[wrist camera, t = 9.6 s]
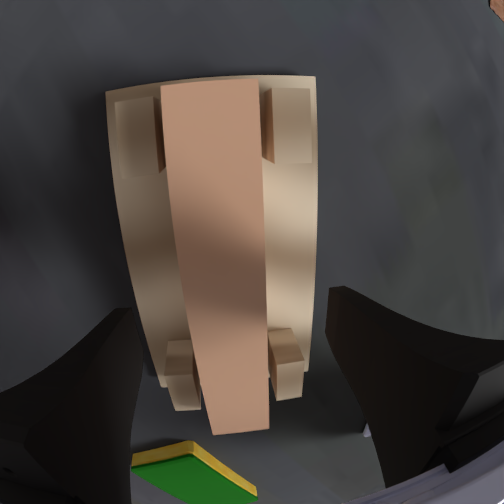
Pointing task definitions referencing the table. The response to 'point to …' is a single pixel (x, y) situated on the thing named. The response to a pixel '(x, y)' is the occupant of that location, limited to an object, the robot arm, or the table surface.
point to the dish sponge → (192, 475)
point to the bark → (498, 7)
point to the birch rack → (275, 226)
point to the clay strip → (221, 242)
